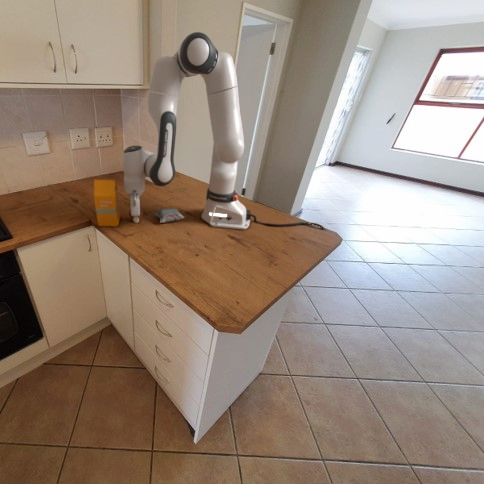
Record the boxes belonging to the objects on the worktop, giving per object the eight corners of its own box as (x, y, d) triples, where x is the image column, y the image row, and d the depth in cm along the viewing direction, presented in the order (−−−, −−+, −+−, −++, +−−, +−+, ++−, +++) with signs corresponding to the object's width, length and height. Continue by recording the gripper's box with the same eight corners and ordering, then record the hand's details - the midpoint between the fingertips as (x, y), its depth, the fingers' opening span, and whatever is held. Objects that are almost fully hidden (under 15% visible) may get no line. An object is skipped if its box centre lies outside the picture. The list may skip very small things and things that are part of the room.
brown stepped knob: (142, 217, 118) (141, 206, 114) (142, 224, 113) (142, 212, 110) (129, 218, 117) (128, 206, 114) (129, 224, 112) (128, 212, 109)
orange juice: (117, 226, 111) (113, 183, 100) (97, 226, 111) (91, 182, 99) (120, 218, 117) (116, 176, 106) (101, 217, 117) (95, 176, 106)
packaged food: (184, 222, 115) (185, 212, 112) (160, 226, 112) (160, 216, 109) (177, 214, 122) (178, 205, 119) (154, 217, 118) (154, 208, 116)
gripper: (142, 196, 97) (143, 227, 105) (141, 178, 114) (142, 205, 122) (126, 196, 97) (128, 227, 105) (127, 178, 114) (129, 206, 121)
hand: (135, 215), depth 113 cm, fingers open, 7 cm apart
